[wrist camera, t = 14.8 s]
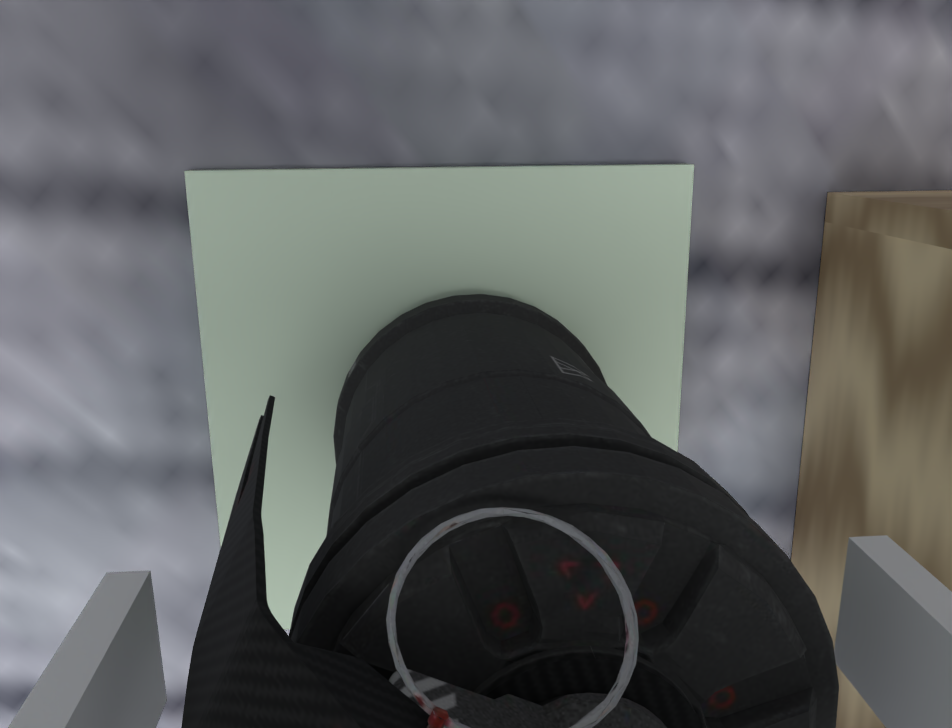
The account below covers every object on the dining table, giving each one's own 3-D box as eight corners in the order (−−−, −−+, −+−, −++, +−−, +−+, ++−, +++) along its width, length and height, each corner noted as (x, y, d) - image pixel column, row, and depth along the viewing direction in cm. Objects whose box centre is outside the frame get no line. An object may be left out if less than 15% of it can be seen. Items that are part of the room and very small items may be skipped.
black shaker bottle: (529, 576, 31) (763, 1305, 12) (239, 462, 29) (-56, 1133, 10) (649, 351, 29) (1156, 778, 10) (350, 212, 27) (262, 417, 8)
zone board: (190, 169, 27) (184, 171, 26) (685, 163, 28) (694, 164, 28) (233, 620, 31) (228, 632, 30) (661, 594, 33) (668, 606, 32)
